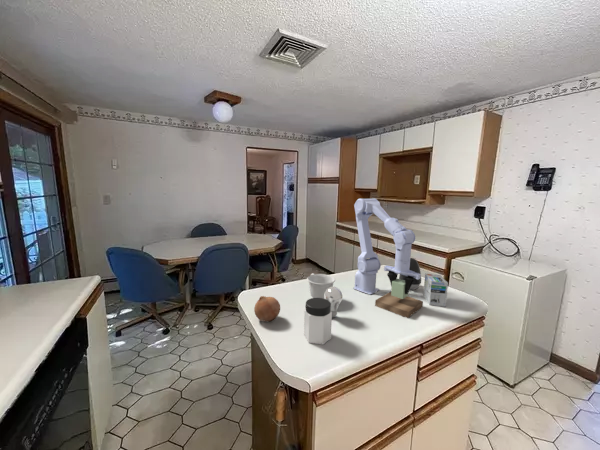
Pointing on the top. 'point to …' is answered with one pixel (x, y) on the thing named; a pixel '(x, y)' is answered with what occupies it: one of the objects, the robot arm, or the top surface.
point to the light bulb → (333, 298)
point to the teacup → (319, 284)
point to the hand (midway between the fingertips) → (400, 291)
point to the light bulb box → (435, 290)
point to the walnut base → (399, 305)
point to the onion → (267, 309)
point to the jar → (317, 320)
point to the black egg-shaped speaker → (415, 268)
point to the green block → (398, 288)
